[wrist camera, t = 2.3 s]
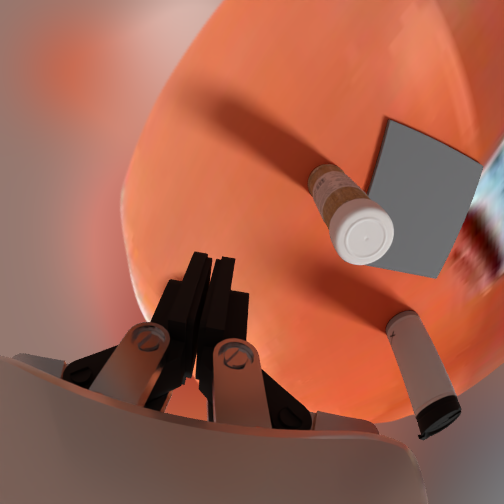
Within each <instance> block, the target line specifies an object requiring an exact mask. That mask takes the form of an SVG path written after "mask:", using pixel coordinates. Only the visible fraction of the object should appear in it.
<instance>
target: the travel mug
mask: <svg viewBox="0 0 504 504" xmlns="http://www.w3.org/2000/svg"><path fill="white" fill-rule="evenodd" d="M386 334H387V337H388V339H389V342H390V344H391V347H392V350H393V352H394V355H395V358H396V360H397V363H398V366H399V369H400V371H401V374H402V377H403V380H404V383H405V386H406V389H407V392H408V395H409V398H410V401H411V404H412V407H413V411H414V414H415V417H416V419H417V422H418V426H419V429H420V432H421V435H418V437H419V439H421V440H425V439H427V438H428V437H430V436H432V435H434V434H436V433H438V432H440V431H442V430H443V429H445V428H446V427H448V426H449V425H450V424H451V423H453V422H454V421H455V420H456V419H457V418H458V417H459V415H460V414H461V407H460V404H459V402H458V399H457V395H456V393H455V390H454V388H453V386H452V383H451V381H450V379H449V376H448V374H447V372H446V370H445V368H444V365H443V363H442V361H441V359H440V357H439V355H438V353H437V350H436V348H435V346H434V344H433V342H432V340H431V338H430V336H429V334H428V333H427V331H426V329H425V327H424V325H423V323H422V321H421V319H420V317H419V316H418V314H417V313H416V312H414V311H404V312H401V313H399V314H397V315H396V316H394V317H393V318H392V319H391V320H390V321H389V323H388V324H387V326H386Z"/></svg>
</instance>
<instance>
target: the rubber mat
mask: <svg viewBox="0 0 504 504" xmlns="http://www.w3.org/2000/svg"><path fill="white" fill-rule="evenodd" d="M482 170H483V166H482V165H480V164H479V163H477V162H475V161H474V160H472V159H470V158H469V157H467V156H465V155H463V154H461V153H460V152H458V151H456V150H454V149H452V148H450V147H448V146H447V145H445V144H443V143H441V142H439V141H437V140H435V139H433V138H430V137H428V136H426V135H424V134H422V133H420V132H418V131H415V130H413V129H411V128H409V127H406V126H404V125H401V124H399V123H397V122H394V121H392V120H388V122H387V126H386V130H385V134H384V138H383V141H382V145H381V149H380V152H379V156H378V159H377V163H376V166H375V169H374V173H373V176H372V179H371V182H370V185H369V189H368V192H367V196H368V197H369V198H370V199H371V200H372V201H374V202H376V203H377V204H379V205H380V206H381V207H382V208H383V209H384V210H385V212H386V213H387V214H388V215H389V217H390V218H391V220H392V223H393V227H394V236H393V241H392V243H391V246H390V247H389V249H388V250H387V252H386V253H385V254H384V255H383V256H382V257H381V258H379V259H378V260H376V261H374V262H372V263H369V264H365V265H367V266H373V267H378V268H383V269H388V270H394V271H399V272H404V273H409V274H415V275H420V276H425V277H430V278H435V279H436V278H437V277H438V275H439V273H440V271H441V269H442V267H443V265H444V263H445V261H446V259H447V257H448V255H449V253H450V251H451V249H452V247H453V245H454V243H455V240H456V238H457V236H458V234H459V231H460V229H461V227H462V224H463V222H464V220H465V217H466V215H467V212H468V210H469V207H470V205H471V202H472V199H473V196H474V194H475V191H476V188H477V185H478V182H479V179H480V176H481V173H482ZM344 261H345V260H344Z"/></svg>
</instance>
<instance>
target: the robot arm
mask: <svg viewBox="0 0 504 504" xmlns="http://www.w3.org/2000/svg"><path fill="white" fill-rule="evenodd" d="M234 264H235V258H229V257H223V256H222V259H221V260H220V259H216V262H215V266H214V270H213V273H212V277H211V281H210V275H211V266H212V258H208V254H206V253H200V252H194V254H193V256H192V258H191V261H190V263H189V266H188V268H187V271H186V273H185V276H184V278H183V281H177V280H172V279H170V280H169V282H168V284H167V286H166V288H165V290H164V292H163V295H162V297H161V299H160V301H159V303H158V306H157V308H156V310H155V313H154V315H153V317H152V319H151V322H143V323H139V324H136V325H135V326H133V327H132V328H131V329H130V330H129V331H128V332H127V334H126V335H125V337H124V338H123V339H122V341H121V342H120V344H119V345H117V346H114V347H111V348H109V349H106V350H103V351H101V352H98V353H95V354H93V355H90V356H87V357H84V358H81V359H79V360H76V361H74V362H72V363H70V364H66V363H65V361H62V360H56V359H51V358H45V357H40V356H34V355H30V354H18V355H15V356H14V357H13V358H9V357H5V356H0V504H429V503H428V499H427V494H426V489H425V484H424V480H423V477H422V473H421V470H420V468H419V465H418V462H417V460H416V458H415V456H414V454H413V453H412V451H411V450H410V449H409V448H408V447H407V446H406V445H405V444H403V443H401V442H399V441H397V440H395V439H392V438H389V437H386V436H383V435H379V431H378V429H377V428H376V426H375V425H374V424H373V423H371V422H369V421H366V420H362V419H356V418H350V417H345V416H339V415H334V414H329V413H325V412H320V411H317V412H316V413H313V412H309V411H308V410H307V409H306V407H305V406H304V405H302V404H301V403H300V402H299V401H298V400H296V399H295V398H294V397H293V396H292V395H291V394H289V393H288V392H287V391H286V390H285V389H284V388H282V387H281V386H280V385H279V384H278V383H277V382H276V381H274V380H273V379H272V378H271V377H270V376H269V375H268V374H267V373H266V372H264V371H263V370H262V369H261V365H260V359H259V355H258V352H257V350H256V349H255V347H254V346H253V345H251V344H250V343H249V342H247V341H246V335H247V320H248V304H249V293H244V292H238V291H232V290H231V283H232V277H233V271H234ZM209 283H210V285H209ZM196 355H197V362H196V379H198V380H199V390H200V391H201V392H202V393H203V395H204V396H205V397H206V398H207V421H203V420H197V419H192V418H187V417H182V416H177V415H172V414H168V413H164V411H165V409H166V407H167V405H168V402H169V400H170V398H171V396H172V392H173V390H174V389H176V388H178V387H180V386H181V385H182V384H183V385H184V384H185V380H186V377H188V378H191V377H192V373H193V368H194V364H195V359H196Z"/></svg>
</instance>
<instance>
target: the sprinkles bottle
mask: <svg viewBox="0 0 504 504" xmlns="http://www.w3.org/2000/svg"><path fill="white" fill-rule="evenodd" d="M308 188H309V192H310V194H311V195H312V197H313V199H314V201H315V204H316V206H317V208H318V210H319V212H320V214H321V216H322V219H323V221H324V222H325V223H326V225H327V227H328V229H329V234H330V238H331V241H332V243H333V245H334V248H335V250H336V251H337V253H338V255H339V256H340V257H341V258H342V259H343V260H345V261H346V262H348V263H351V264H355V265H365V264H369V263H372V262H374V261H376V260H378V259H379V258H381V257H382V256H383V255H384V254H385V253H386V252H387V250H388V249H389V247H390V246H391V243H392V241H393V236H394V227H393V223H392V220H391V218H390V217H389V215H388V214H387V213H386V212H385V210H384V209H383V208H382V207H381V206H380V205H379V204H377V203H376V202H374V201H372V200H371V199H370V198H369V197H368V196H367V195H366V193H365V192H364V191H363V190H362V189H361V188H360V187H359V186H357V185H356V184H355V183H354V182H353V181H352V180H351V179H350V178H349V177H348V176H347V175H346V174H345V173H344V172H343V170H342V169H340V168H339V167H338V166H336V165H332V164H324V165H320V166H318V167H317V168H315V169H314V170H313V171H312V173H311V175H310V176H309V179H308Z"/></svg>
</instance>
